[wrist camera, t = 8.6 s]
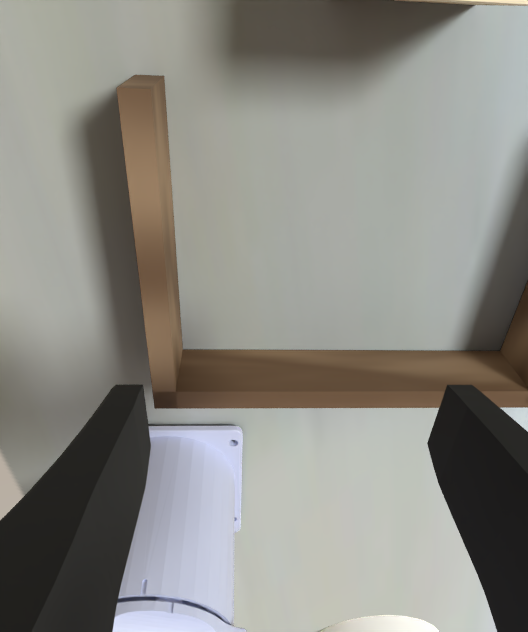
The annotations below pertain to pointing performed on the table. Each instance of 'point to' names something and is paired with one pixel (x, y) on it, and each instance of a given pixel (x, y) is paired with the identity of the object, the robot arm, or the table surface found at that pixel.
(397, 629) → the honey pot
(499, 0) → the maple block
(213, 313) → the table surface
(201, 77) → the table surface
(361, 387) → the open walnut frame
